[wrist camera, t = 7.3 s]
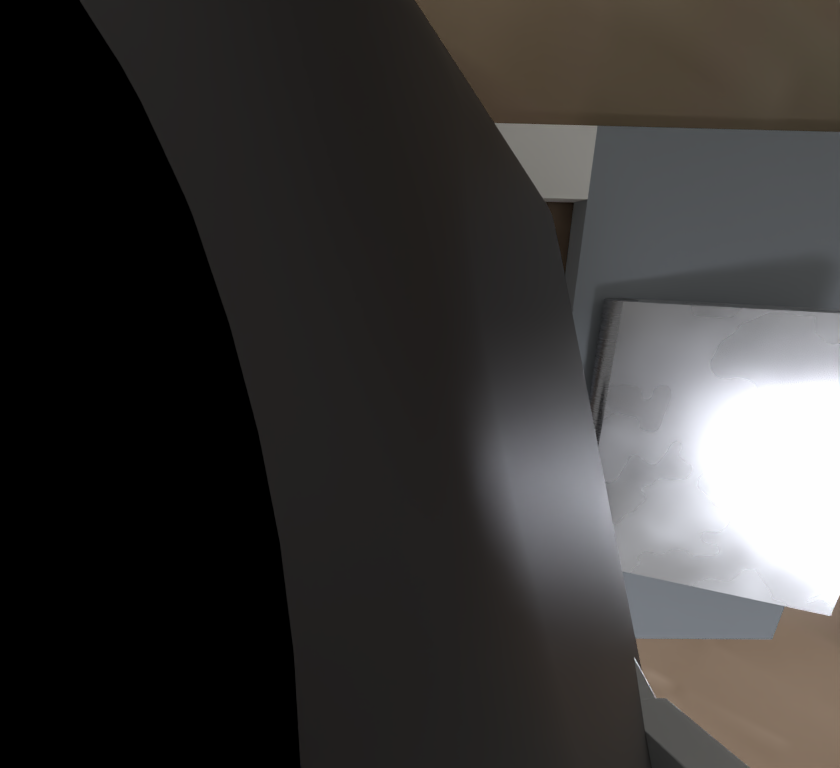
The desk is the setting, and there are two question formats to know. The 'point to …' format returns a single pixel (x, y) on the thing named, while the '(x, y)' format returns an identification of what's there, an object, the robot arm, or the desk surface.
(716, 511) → the light grey rectangular plate
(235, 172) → the leaning round-cornered charcoal block
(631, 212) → the mounting board
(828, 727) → the desk surface
